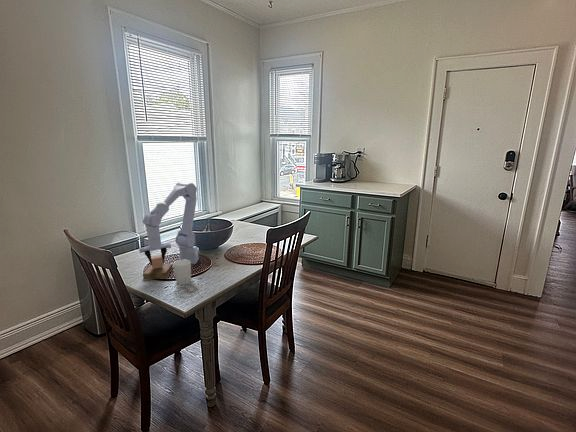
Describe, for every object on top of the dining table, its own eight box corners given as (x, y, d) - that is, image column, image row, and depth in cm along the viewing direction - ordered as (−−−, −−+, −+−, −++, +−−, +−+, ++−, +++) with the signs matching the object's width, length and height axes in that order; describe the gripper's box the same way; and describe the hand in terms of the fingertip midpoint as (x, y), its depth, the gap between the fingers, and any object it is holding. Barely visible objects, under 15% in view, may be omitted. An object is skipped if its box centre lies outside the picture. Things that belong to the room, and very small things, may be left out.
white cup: (182, 287, 147) (180, 267, 145) (171, 283, 151) (169, 263, 149) (195, 280, 154) (194, 261, 151) (184, 276, 158) (182, 258, 155)
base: (172, 269, 167) (172, 263, 166) (166, 278, 156) (165, 272, 155) (151, 270, 166) (150, 264, 165) (143, 279, 155) (142, 273, 155)
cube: (162, 263, 163) (161, 254, 162) (163, 266, 159) (162, 257, 158) (151, 265, 161) (150, 256, 160) (152, 268, 157) (151, 259, 155)
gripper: (168, 233, 163) (171, 258, 166) (137, 237, 156) (141, 263, 160) (170, 237, 157) (173, 262, 160) (138, 242, 150) (142, 268, 154)
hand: (157, 263), depth 160 cm, fingers closed on cube, 5 cm apart
